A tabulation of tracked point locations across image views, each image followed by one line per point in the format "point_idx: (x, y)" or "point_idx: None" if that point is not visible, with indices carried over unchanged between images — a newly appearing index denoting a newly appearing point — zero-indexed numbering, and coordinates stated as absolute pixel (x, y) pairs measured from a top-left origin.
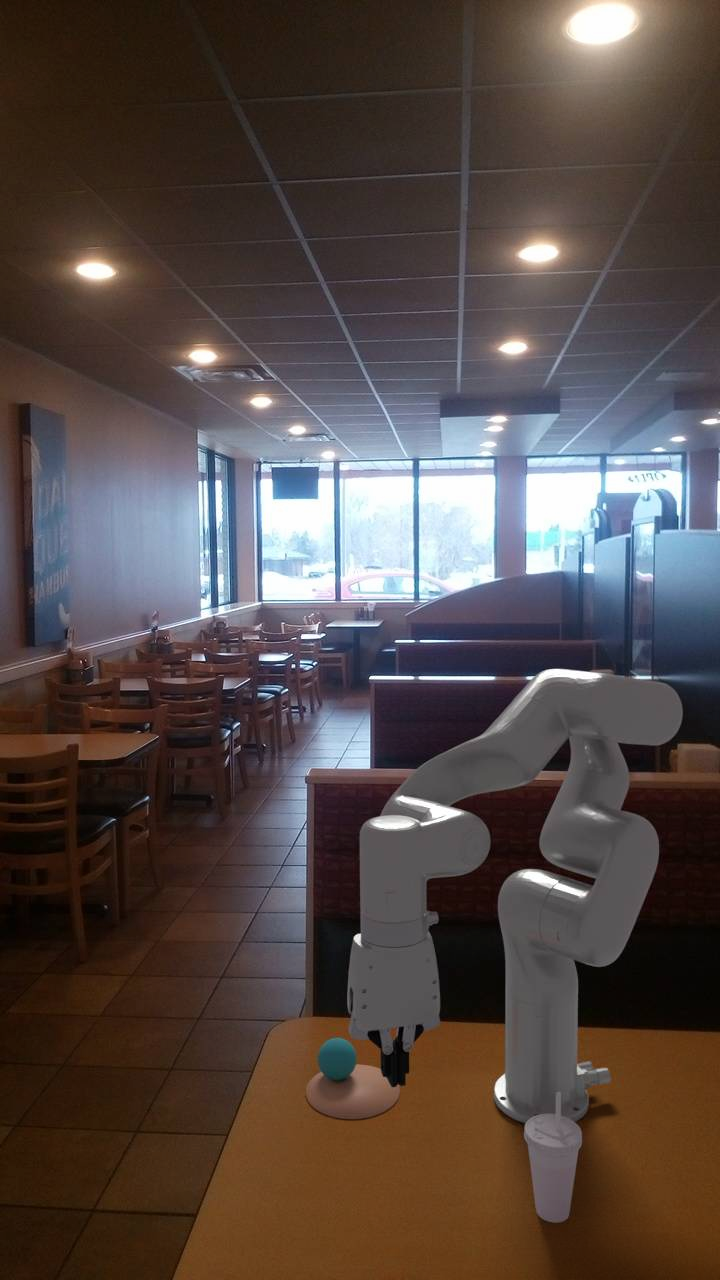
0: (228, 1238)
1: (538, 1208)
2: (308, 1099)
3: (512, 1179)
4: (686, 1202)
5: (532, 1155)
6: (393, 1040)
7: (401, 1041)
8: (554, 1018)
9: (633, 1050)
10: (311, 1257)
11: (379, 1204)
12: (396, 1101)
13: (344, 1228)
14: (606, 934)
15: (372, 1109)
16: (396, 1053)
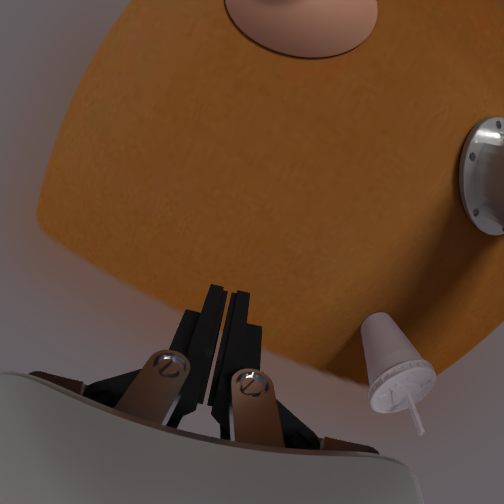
0: (58, 205)
1: (362, 332)
2: None
3: (383, 272)
4: (454, 352)
5: (370, 377)
6: (224, 359)
7: (221, 422)
8: None
9: None
10: (120, 266)
11: (214, 232)
12: (354, 47)
13: (161, 247)
14: None
15: (308, 44)
16: (201, 401)
